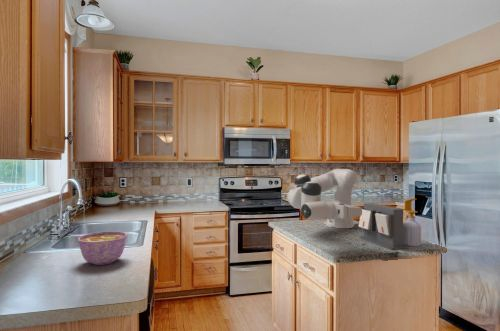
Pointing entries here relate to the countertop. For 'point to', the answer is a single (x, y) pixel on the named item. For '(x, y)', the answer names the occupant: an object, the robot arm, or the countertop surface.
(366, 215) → the block
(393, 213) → the power panel
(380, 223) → the block
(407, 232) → the soap bottle
